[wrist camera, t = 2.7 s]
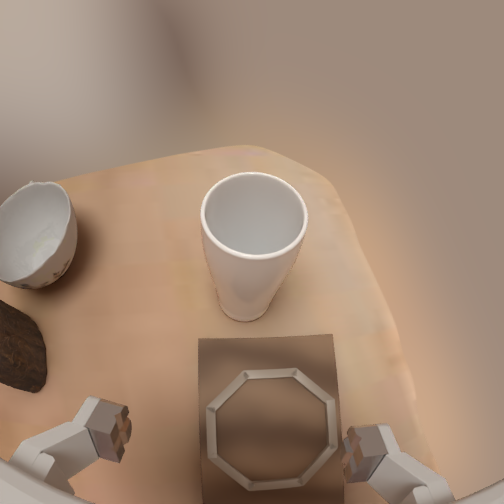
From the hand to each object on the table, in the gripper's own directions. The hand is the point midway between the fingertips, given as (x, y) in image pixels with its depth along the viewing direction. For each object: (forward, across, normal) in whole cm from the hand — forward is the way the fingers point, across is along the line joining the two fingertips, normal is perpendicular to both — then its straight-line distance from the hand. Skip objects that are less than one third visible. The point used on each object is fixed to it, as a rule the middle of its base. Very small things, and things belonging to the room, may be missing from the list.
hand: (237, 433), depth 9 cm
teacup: (+24, +25, +3) cm, 34 cm away
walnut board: (+12, -4, +14) cm, 19 cm away
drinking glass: (+22, 0, +4) cm, 22 cm away
